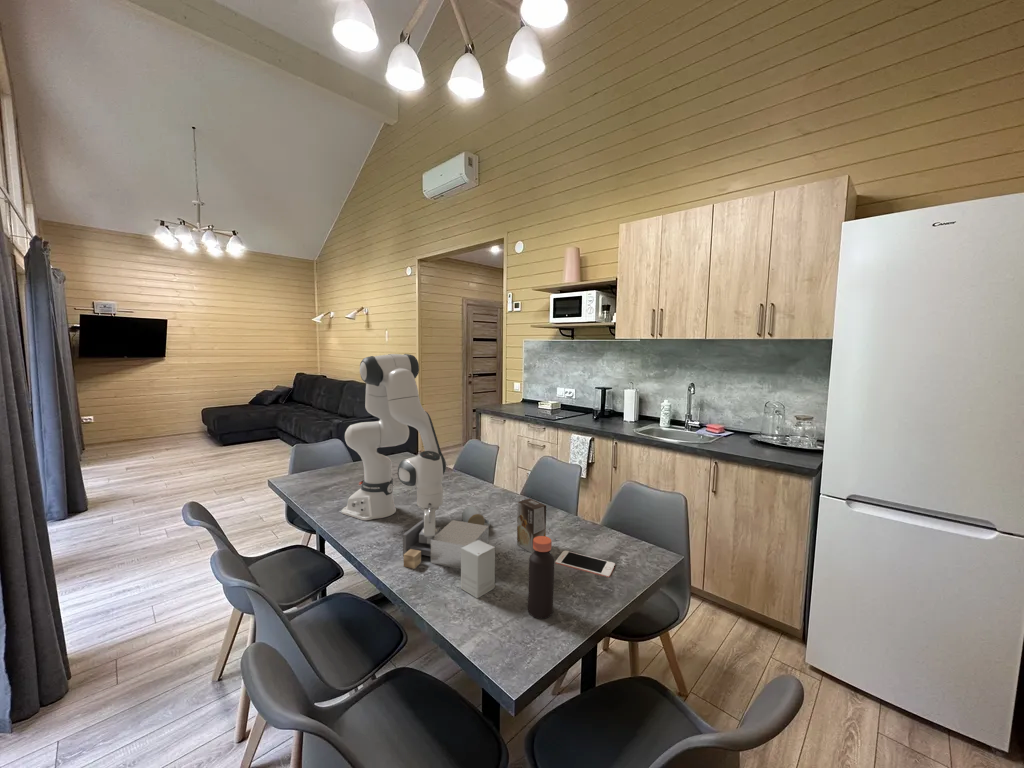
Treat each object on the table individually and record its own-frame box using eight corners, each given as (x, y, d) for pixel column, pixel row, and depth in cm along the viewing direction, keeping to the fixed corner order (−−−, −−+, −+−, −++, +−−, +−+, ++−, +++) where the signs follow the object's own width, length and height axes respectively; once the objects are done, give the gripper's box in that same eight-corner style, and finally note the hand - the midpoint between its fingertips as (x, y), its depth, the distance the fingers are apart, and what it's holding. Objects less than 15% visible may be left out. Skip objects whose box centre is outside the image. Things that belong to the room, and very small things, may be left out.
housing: (430, 562, 135) (430, 539, 134) (452, 541, 150) (452, 520, 150) (470, 570, 131) (470, 546, 130) (488, 547, 146) (488, 526, 145)
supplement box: (495, 588, 122) (496, 547, 121) (477, 599, 116) (477, 556, 115) (478, 578, 127) (478, 538, 126) (459, 588, 121) (460, 547, 120)
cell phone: (609, 579, 129) (609, 576, 129) (554, 564, 137) (554, 561, 137) (615, 565, 137) (615, 563, 136) (563, 552, 145) (563, 549, 144)
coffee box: (546, 549, 146) (547, 505, 145) (533, 554, 142) (534, 509, 140) (528, 539, 153) (529, 497, 152) (515, 544, 149) (516, 501, 147)
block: (403, 566, 133) (403, 554, 132) (410, 560, 136) (410, 548, 136) (414, 568, 131) (414, 556, 131) (421, 562, 135) (421, 550, 135)
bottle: (538, 622, 107) (540, 548, 105) (522, 609, 112) (524, 538, 111) (558, 613, 111) (560, 541, 109) (541, 600, 116) (543, 532, 114)
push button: (418, 542, 141) (419, 533, 141) (423, 534, 147) (423, 526, 147) (436, 543, 141) (436, 534, 140) (440, 535, 147) (440, 527, 146)
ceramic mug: (467, 534, 157) (468, 514, 156) (461, 525, 164) (461, 506, 163) (493, 529, 161) (494, 510, 160) (486, 521, 168) (486, 503, 168)
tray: (400, 555, 139) (400, 534, 138) (424, 535, 154) (424, 515, 153) (440, 563, 134) (440, 541, 133) (461, 542, 149) (461, 521, 149)
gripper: (439, 510, 133) (439, 551, 134) (438, 488, 153) (438, 524, 154) (419, 511, 132) (419, 552, 133) (421, 489, 152) (421, 525, 153)
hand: (429, 537), depth 144 cm, fingers closed on push button, 6 cm apart
